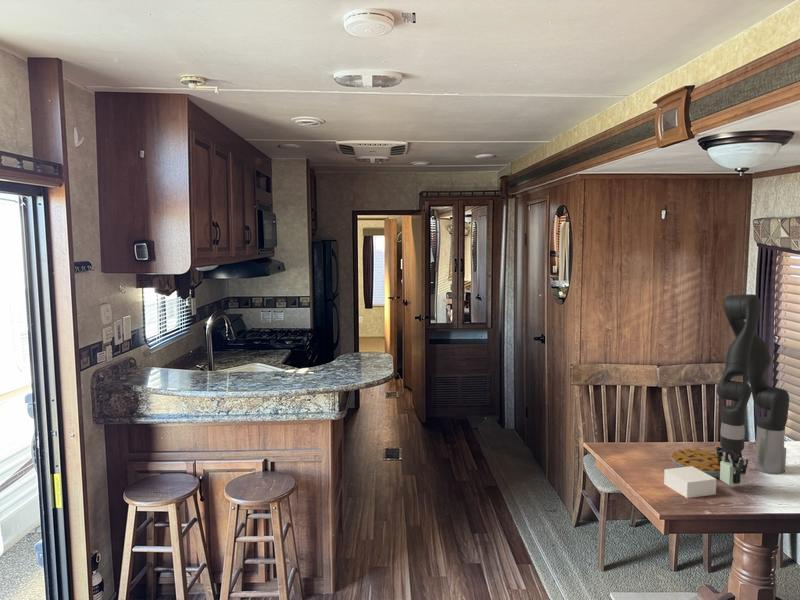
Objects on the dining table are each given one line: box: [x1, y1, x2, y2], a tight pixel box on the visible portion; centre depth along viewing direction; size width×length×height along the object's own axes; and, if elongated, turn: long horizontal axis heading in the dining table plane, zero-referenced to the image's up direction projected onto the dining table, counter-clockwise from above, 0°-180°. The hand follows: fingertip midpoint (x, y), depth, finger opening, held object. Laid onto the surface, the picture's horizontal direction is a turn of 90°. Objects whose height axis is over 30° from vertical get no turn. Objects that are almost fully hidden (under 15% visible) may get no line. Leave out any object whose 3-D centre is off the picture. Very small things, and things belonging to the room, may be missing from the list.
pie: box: [670, 448, 722, 479], centre depth 225 cm, size 22×22×5 cm
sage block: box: [719, 461, 743, 486], centre depth 205 cm, size 5×5×7 cm
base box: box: [663, 466, 717, 499], centre depth 207 cm, size 12×12×6 cm
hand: (730, 479), depth 206 cm, fingers closed on sage block, 5 cm apart
